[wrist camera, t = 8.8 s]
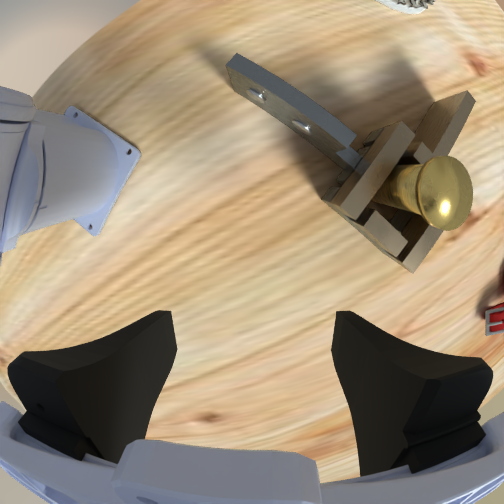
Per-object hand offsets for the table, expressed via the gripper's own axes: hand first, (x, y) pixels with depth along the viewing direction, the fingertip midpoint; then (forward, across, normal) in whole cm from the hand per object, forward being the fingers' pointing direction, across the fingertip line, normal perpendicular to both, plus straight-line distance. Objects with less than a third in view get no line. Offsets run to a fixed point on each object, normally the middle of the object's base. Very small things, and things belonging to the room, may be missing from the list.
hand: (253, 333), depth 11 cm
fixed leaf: (+9, -5, -8) cm, 14 cm away
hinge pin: (+9, -9, -6) cm, 15 cm away
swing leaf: (+9, -11, -8) cm, 17 cm away
